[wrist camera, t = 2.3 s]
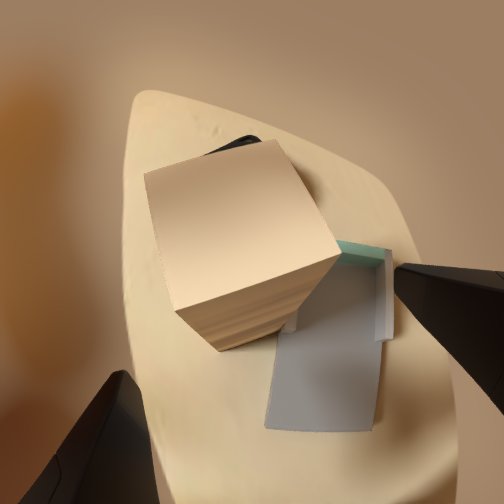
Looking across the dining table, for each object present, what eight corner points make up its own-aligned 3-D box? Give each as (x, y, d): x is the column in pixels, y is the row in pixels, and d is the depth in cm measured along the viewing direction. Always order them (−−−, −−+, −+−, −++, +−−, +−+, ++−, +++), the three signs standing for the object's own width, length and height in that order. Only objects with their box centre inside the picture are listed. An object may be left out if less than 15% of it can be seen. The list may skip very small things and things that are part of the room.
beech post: (278, 331, 17) (341, 252, 6) (219, 352, 16) (174, 311, 6) (256, 276, 19) (275, 139, 8) (199, 295, 18) (143, 174, 7)
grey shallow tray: (364, 427, 14) (382, 434, 12) (264, 424, 14) (268, 433, 12) (375, 265, 19) (391, 250, 17) (289, 251, 19) (295, 232, 17)
